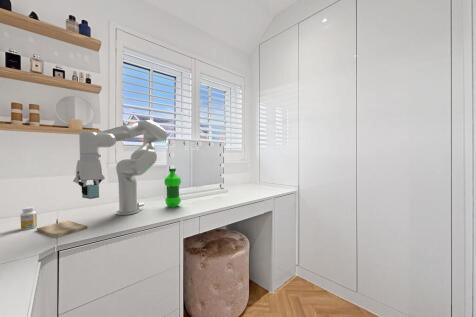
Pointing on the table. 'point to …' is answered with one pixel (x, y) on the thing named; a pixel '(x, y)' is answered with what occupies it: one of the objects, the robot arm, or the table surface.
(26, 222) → the supplement bottle
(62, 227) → the board
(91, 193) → the block
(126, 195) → the robot arm
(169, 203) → the plastic bottle
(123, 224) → the table surface
